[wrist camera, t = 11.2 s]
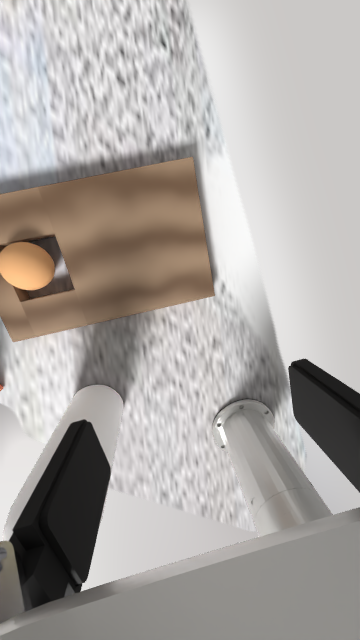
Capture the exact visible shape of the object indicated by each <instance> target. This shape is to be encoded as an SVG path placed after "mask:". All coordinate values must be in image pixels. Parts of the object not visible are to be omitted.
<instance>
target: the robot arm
mask: <svg viewBox="0 0 360 640" xmlns="http://www.w3.org/2000/svg"><path fill="white" fill-rule="evenodd" d="M288 369H289V378H290V387H291V395H292V404H293V413H294V416H295V419H296V420H297V422H298V423H299V424H300V425H301V426H302V428H303V429H304V430H305V431H306V432H307V433H308V434H309V435H310V437H311V438H312V439H313V440H314V441H315V442H316V443H317V445H319V447H320V448H321V449H322V450H323V451H324V453H325V454H326V455H327V456H328V457H329V458H330V459H331V460H332V462H334V464H335V465H336V466H337V467H338V468H339V469H340V471H341V472H342V473H343V474H344V475H345V476H346V477H347V479H348V480H349V481H350V482H351V483H352V484H353V485H354V486H355V488H356V489H357V490H358V491H359V492H360V394H359V393H358V392H356V391H354V390H353V389H351V388H350V387H348V386H347V385H345V384H344V383H342V382H341V381H339V380H338V379H336V378H335V377H333V376H331V375H330V374H328V373H327V372H325V371H323V370H322V369H321V368H319V367H317V366H316V365H314V364H313V363H311V362H310V361H308V360H307V359H301V360H297V361H294V362H292V363H291V366H289V368H288ZM274 427H275V420H274V416H273V414H272V412H271V411H270V409H269V408H268V407H267V406H266V405H265V404H263V403H261V402H259V401H256V400H240V401H237V402H234V403H232V404H230V405H228V406H226V407H225V408H224V409H223V410H221V412H220V413H219V414H218V415H217V417H216V418H215V420H214V423H213V427H212V434H213V438H214V441H215V443H216V444H217V446H218V447H219V448H220V449H221V450H223V451H225V452H227V453H228V455H229V458H230V461H231V463H232V466H233V469H234V471H235V474H236V477H237V479H238V482H239V485H240V487H241V490H242V493H243V495H244V498H245V501H246V503H247V506H248V509H249V511H250V514H251V517H252V519H253V522H254V525H255V528H256V530H257V533H258V535H259V537H257V538H254V539H250V540H247V541H244V542H241V543H237V544H234V545H230V546H227V547H224V548H221V549H217V550H214V551H211V552H207V553H204V554H201V555H198V556H194V557H191V558H188V559H184V560H181V561H178V562H175V563H171V564H168V565H165V566H161V567H158V568H155V569H152V570H148V571H145V572H142V573H139V574H135V575H133V576H129V577H126V578H123V579H119V580H116V581H113V582H109V583H106V584H103V585H100V586H97V587H94V588H91V589H88V590H85V591H82V592H80V591H81V587H82V583H84V582H85V581H86V580H87V577H88V574H89V569H90V565H91V560H92V556H93V552H94V547H95V543H96V538H97V534H98V529H99V525H100V520H101V516H102V511H103V507H104V502H105V498H106V494H107V489H108V485H109V480H110V476H111V468H110V464H109V462H108V460H107V458H106V455H105V453H104V451H103V448H102V446H101V444H100V442H99V439H98V437H97V435H96V432H95V430H94V428H93V425H92V423H91V422H87V420H85V419H83V420H80V421H76V422H73V423H71V424H70V425H69V427H68V429H67V431H66V433H65V434H64V436H63V438H62V440H61V442H60V443H59V445H58V447H57V449H56V451H55V453H54V454H53V456H52V458H51V460H50V462H49V464H48V465H47V467H46V469H45V471H44V473H43V474H42V476H41V478H40V480H39V482H38V484H37V485H36V487H35V489H34V491H33V493H32V495H31V496H30V498H29V500H28V502H27V504H26V506H25V507H24V509H23V511H22V513H21V515H20V516H19V518H18V520H17V522H16V524H15V526H14V527H13V529H12V531H13V534H12V536H11V537H10V539H9V541H1V542H0V640H360V508H356V509H352V510H349V511H345V512H342V513H339V514H335V515H333V514H332V513H331V511H330V510H329V508H328V507H327V506H326V504H325V503H324V501H323V500H322V499H321V497H320V496H319V494H318V493H317V491H316V490H315V488H314V487H313V485H312V484H311V482H310V481H309V480H308V478H307V477H306V475H305V474H304V472H303V471H302V470H301V468H300V467H299V465H298V464H297V462H296V461H295V459H294V458H293V457H292V455H291V454H290V452H289V451H288V449H287V448H286V446H285V445H284V444H283V442H282V441H281V439H280V438H279V436H278V435H277V433H276V432H275V431H274Z"/></svg>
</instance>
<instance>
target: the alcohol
mask: <svg viewBox="0 0 360 640" xmlns="http://www.w3.org/2000/svg"><path fill="white" fill-rule="evenodd" d="M123 409H124V405H123V401H122V398H121V397H120V395H119V394H118V393H117V392H116V391H115V390H114V389H112V388H110V387H108V386H105V385H91V386H87V387H85V388H83V389H81V390H79V391H78V392H77V393H76V394H75V395H74V397H73V399H72V400H71V402H70V404H69V406H68V408H67V409H66V411H65V413H64V415H63V416H62V418H61V420H60V422H59V423H58V425H57V427H56V429H55V431H54V432H53V434H52V436H51V438H50V439H49V441H48V443H47V445H46V446H45V448H44V450H43V452H42V453H41V455H40V457H39V459H38V461H37V462H36V464H35V466H34V468H33V469H32V471H31V473H30V475H29V476H28V478H27V480H26V482H25V483H24V486H23V487H22V489H21V491H20V492H19V494H18V496H17V498H16V499H15V501H14V503H13V505H12V506H11V509H10V512H9V515H8V518H7V521H6V524H5V527H4V531H3V541H9V539H10V537H11V536H12V534H13V531H12V529H13V527H14V526H15V524H16V522H17V520H18V518H19V516H20V515H21V513H22V511H23V509H24V507H25V506H26V504H27V502H28V500H29V498H30V496H31V495H32V493H33V491H34V489H35V487H36V485H37V484H38V482H39V480H40V478H41V476H42V474H43V473H44V471H45V469H46V467H47V465H48V464H49V462H50V460H51V458H52V456H53V454H54V453H55V451H56V449H57V447H58V445H59V443H60V442H61V440H62V438H63V436H64V434H65V433H66V431H67V429H68V427H69V425H70V424H71V423H73V422H76V421H80V420H83V419H85V420H87V422H91V423H92V425H93V428H94V430H95V432H96V435H97V437H98V439H99V442H100V444H101V446H102V448H103V451H104V453H105V455H106V458H107V460H108V462H109V464H110V468H111V471H112V466H113V461H114V456H115V450H116V445H117V440H118V435H119V430H120V425H121V420H122V415H123ZM109 481H110V480H109ZM108 486H109V485H108ZM107 491H108V489H107ZM106 496H107V494H106ZM105 502H106V498H105ZM105 502H104V507H105ZM104 507H103V511H102V516H101V520H102V517H103V512H104ZM101 520H100V523H101Z"/></svg>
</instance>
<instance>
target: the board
mask: <svg viewBox="0 0 360 640" xmlns="http://www.w3.org/2000/svg"><path fill="white" fill-rule="evenodd" d="M54 236H56V239H57V242H58V244H59V247H60V250H61V253H62V256H63V258H64V261H65V264H66V267H67V269H68V272H69V275H70V278H71V280H72V283H73V286H74V289H72V290H68V291H63V292H58V293H54V294H49V295H45V296H40V297H36V298H31V299H30V297H29V295H28V292H27V290H24V289H20V288H17V287H15V286H13V285H11V284H10V283H8V282H7V281H6V280H5V279H4V278H3V276H2V275H1V273H0V317H1V319H2V321H3V323H4V325H5V327H6V329H7V331H8V333H9V335H10V337H11V339H12V341H13V342H17V341H21V340H25V339H30V338H34V337H38V336H43V335H47V334H51V333H56V332H60V331H64V330H69V329H73V328H77V327H82V326H86V325H90V324H95V323H99V322H103V321H108V320H112V319H116V318H121V317H125V316H129V315H134V314H138V313H142V312H147V311H151V310H155V309H160V308H164V307H168V306H173V305H177V304H181V303H186V302H190V301H194V300H199V299H203V298H207V297H212V296H215V294H214V287H213V281H212V275H211V269H210V262H209V256H208V250H207V243H206V237H205V231H204V224H203V218H202V212H201V205H200V199H199V193H198V187H197V180H196V174H195V168H194V161H193V157H189V158H184V159H179V160H173V161H168V162H163V163H158V164H153V165H148V166H143V167H138V168H132V169H127V170H122V171H117V172H112V173H107V174H102V175H96V176H91V177H86V178H81V179H76V180H71V181H66V182H61V183H55V184H50V185H45V186H40V187H35V188H30V189H25V190H20V191H14V192H9V193H4V194H0V253H1V251H2V250H3V249H4V248H5V247H6V246H8V245H10V244H13V243H17V242H30V241H35V240H40V239H44V238H49V237H54Z"/></svg>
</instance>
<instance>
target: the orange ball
mask: <svg viewBox="0 0 360 640" xmlns="http://www.w3.org/2000/svg"><path fill="white" fill-rule="evenodd" d="M0 273H1V275H2V276H3V278H4V279H5V280H6V281H7V282H8V283H10V284H11V285H13V286H15V287H17V288H20V289H24V290H36V289H40V288H42V287H44V286H46V285H47V284H49V283H50V282H51V280H52V279H53V277H54V273H55V265H54V262H53V260H52V258H51V256H50V255H49V254H48V253H47V252H46V251H45V250H44V249H43V248H41V247H40V246H38V245H35V244H32V243H28V242H17V243H13V244H10V245H8V246H6V247H5V248H4V249H3V250H2V251H1V253H0Z"/></svg>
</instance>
